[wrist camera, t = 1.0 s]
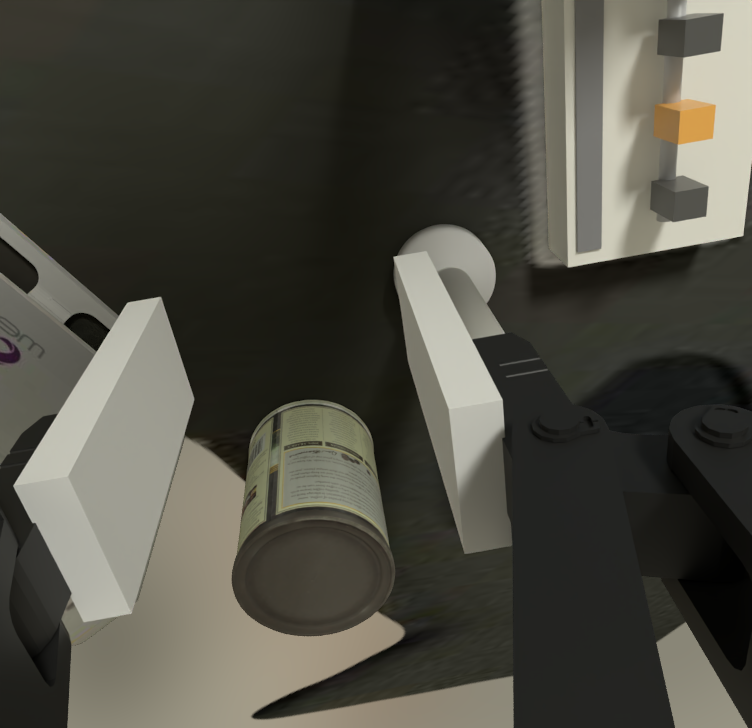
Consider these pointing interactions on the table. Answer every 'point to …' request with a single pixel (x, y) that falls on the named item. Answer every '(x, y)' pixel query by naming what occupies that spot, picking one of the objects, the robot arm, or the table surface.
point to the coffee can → (312, 523)
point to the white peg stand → (460, 273)
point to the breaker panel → (638, 127)
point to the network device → (45, 362)
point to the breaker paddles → (682, 111)
